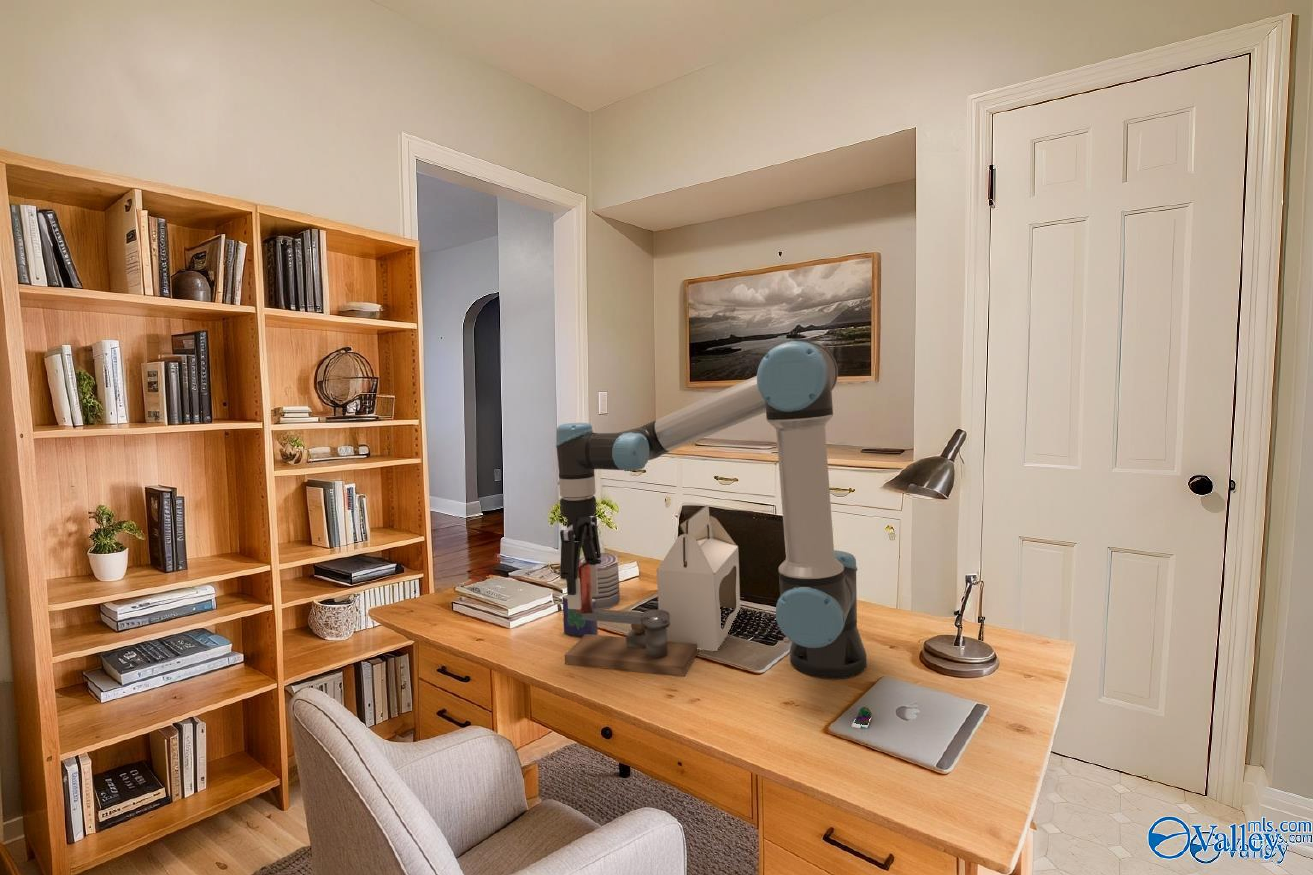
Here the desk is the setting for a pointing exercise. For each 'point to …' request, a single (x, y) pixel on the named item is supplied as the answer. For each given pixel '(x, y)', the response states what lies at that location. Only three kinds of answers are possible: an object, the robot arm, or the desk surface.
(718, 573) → the gable box
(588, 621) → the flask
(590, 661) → the wooden base plate
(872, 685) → the desk surface
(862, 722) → the green rounded lump
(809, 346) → the robot arm
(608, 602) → the can
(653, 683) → the desk surface
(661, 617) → the lever
